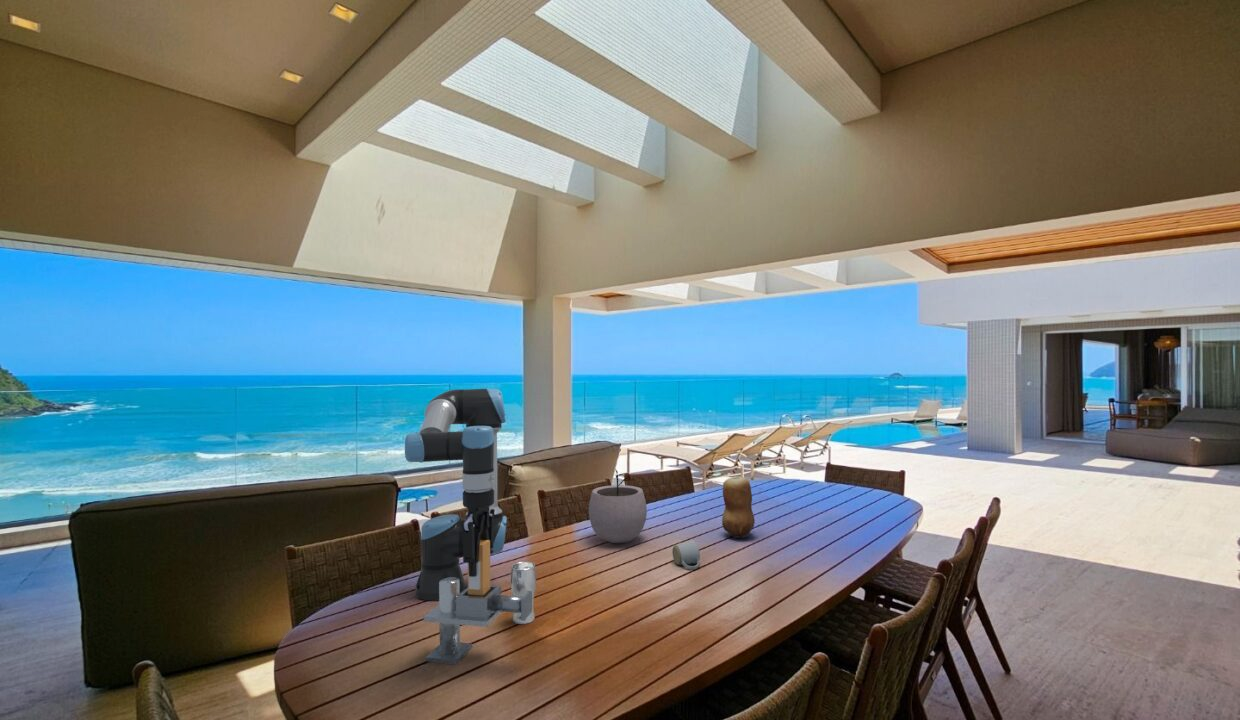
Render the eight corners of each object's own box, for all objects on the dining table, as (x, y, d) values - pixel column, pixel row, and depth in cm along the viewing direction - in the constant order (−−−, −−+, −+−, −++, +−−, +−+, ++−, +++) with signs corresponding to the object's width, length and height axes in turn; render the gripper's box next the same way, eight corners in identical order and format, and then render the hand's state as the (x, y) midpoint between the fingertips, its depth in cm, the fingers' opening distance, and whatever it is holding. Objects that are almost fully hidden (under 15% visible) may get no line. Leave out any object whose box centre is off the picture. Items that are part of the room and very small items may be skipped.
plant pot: (648, 550, 207) (647, 473, 207) (587, 551, 207) (586, 473, 208) (646, 532, 231) (645, 462, 231) (591, 532, 231) (590, 463, 232)
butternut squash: (718, 532, 228) (717, 474, 228) (748, 531, 229) (747, 473, 230) (728, 543, 214) (727, 480, 215) (760, 541, 215) (759, 479, 216)
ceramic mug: (671, 561, 194) (671, 540, 194) (691, 558, 197) (691, 538, 197) (683, 572, 184) (683, 550, 184) (704, 569, 187) (704, 547, 187)
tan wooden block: (467, 594, 129) (467, 544, 129) (475, 587, 133) (475, 539, 133) (483, 595, 128) (482, 545, 128) (490, 588, 132) (490, 540, 132)
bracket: (456, 617, 127) (456, 596, 127) (472, 603, 135) (471, 583, 135) (522, 623, 124) (521, 601, 124) (534, 608, 131) (534, 588, 132)
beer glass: (524, 627, 145) (524, 571, 145) (505, 621, 149) (505, 567, 149) (541, 617, 151) (540, 564, 151) (522, 611, 154) (522, 559, 155)
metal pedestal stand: (423, 663, 127) (423, 587, 128) (445, 642, 137) (445, 572, 138) (487, 670, 124) (487, 592, 124) (505, 648, 134) (504, 576, 134)
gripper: (476, 497, 122) (477, 600, 121) (506, 482, 138) (507, 572, 138) (446, 496, 123) (447, 598, 123) (480, 481, 140) (480, 571, 139)
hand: (479, 584), depth 130 cm, fingers closed on tan wooden block, 4 cm apart
